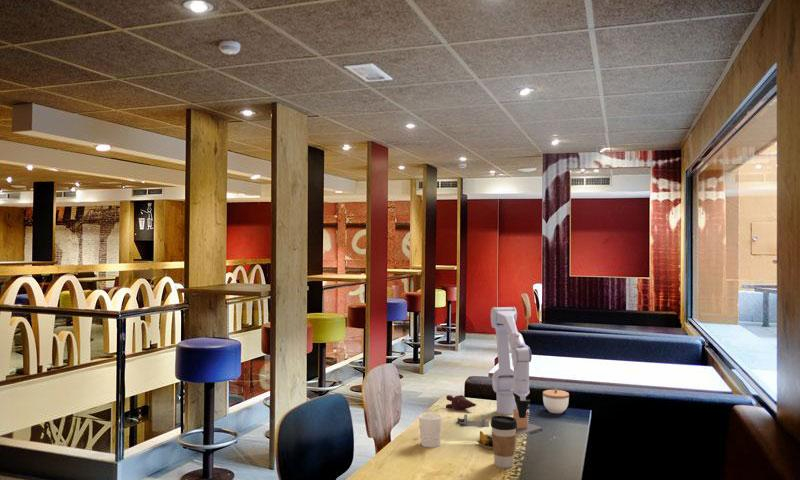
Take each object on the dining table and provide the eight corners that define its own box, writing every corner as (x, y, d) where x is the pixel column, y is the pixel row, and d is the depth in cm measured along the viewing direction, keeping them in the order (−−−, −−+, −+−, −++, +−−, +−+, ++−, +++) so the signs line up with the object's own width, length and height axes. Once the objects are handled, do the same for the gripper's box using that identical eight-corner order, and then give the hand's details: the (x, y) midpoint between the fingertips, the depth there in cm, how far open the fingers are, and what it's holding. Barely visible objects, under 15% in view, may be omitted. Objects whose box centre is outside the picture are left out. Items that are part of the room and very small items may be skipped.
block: (513, 428, 227) (513, 412, 227) (513, 424, 231) (513, 409, 231) (527, 428, 226) (527, 412, 226) (526, 425, 230) (526, 409, 230)
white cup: (444, 442, 215) (444, 414, 215) (438, 449, 207) (438, 420, 207) (422, 439, 217) (422, 412, 217) (416, 446, 210) (416, 418, 210)
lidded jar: (542, 414, 249) (542, 391, 249) (542, 407, 259) (542, 385, 259) (569, 415, 246) (569, 392, 246) (568, 408, 257) (568, 386, 257)
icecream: (481, 396, 252) (451, 394, 262) (471, 395, 247) (441, 393, 256) (480, 413, 250) (450, 410, 260) (470, 413, 245) (440, 410, 254)
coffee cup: (487, 460, 197) (487, 414, 197) (513, 459, 198) (513, 413, 198) (494, 470, 189) (494, 422, 189) (520, 469, 189) (520, 421, 189)
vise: (457, 428, 230) (457, 419, 230) (457, 422, 237) (457, 413, 237) (489, 429, 229) (489, 420, 229) (488, 423, 236) (488, 414, 236)
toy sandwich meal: (506, 438, 219) (506, 425, 219) (519, 451, 206) (519, 437, 206) (473, 440, 218) (473, 427, 218) (484, 453, 204) (484, 439, 204)
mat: (519, 423, 236) (519, 420, 236) (542, 430, 228) (542, 427, 228) (500, 428, 230) (500, 426, 230) (523, 436, 221) (523, 433, 221)
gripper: (509, 374, 236) (509, 408, 236) (511, 383, 222) (511, 420, 222) (527, 374, 236) (527, 409, 236) (531, 383, 221) (531, 420, 221)
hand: (521, 414), depth 229 cm, fingers open, 7 cm apart
